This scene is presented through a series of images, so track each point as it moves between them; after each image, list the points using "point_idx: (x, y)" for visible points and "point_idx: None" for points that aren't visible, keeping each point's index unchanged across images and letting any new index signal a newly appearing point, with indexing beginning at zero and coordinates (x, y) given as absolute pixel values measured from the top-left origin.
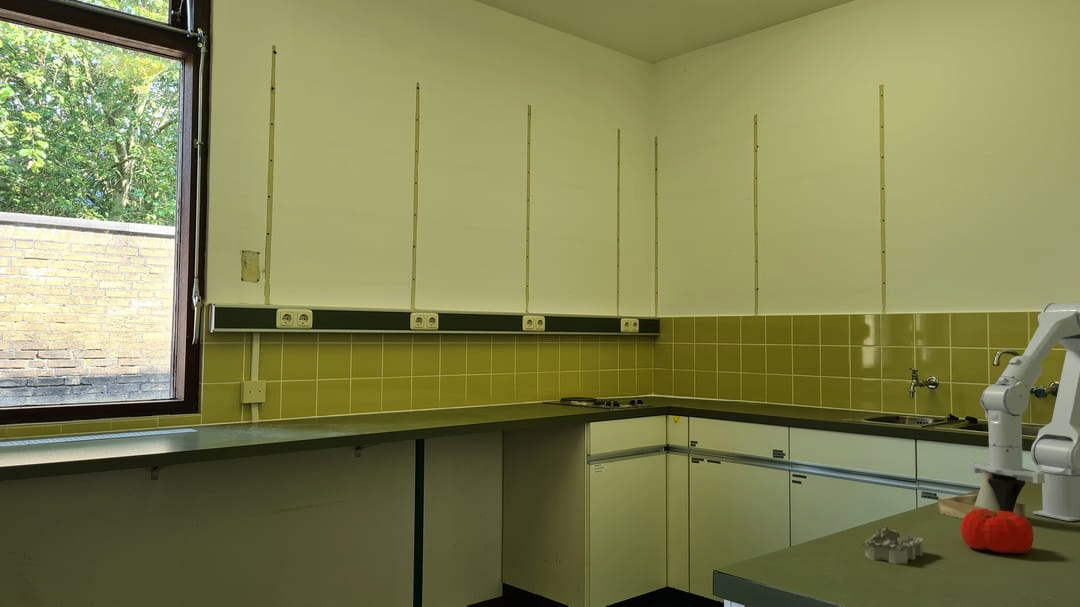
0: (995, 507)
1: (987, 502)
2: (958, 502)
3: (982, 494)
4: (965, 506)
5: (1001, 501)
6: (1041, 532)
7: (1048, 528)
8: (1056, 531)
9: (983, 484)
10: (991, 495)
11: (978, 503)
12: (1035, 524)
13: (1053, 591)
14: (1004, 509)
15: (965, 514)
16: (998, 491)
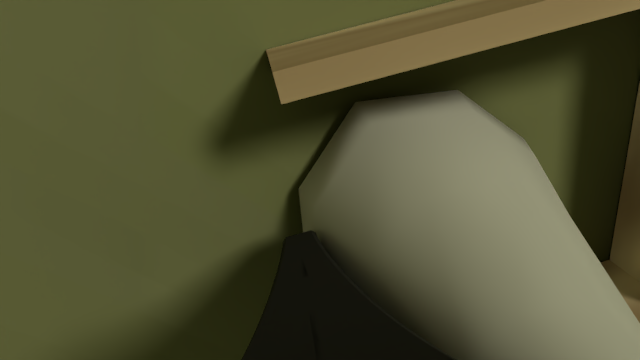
0: (353, 227)
1: (414, 206)
2: (608, 7)
3: (514, 237)
4: (498, 9)
5: (308, 288)
6: (3, 261)
7: (128, 345)
8: (47, 345)
9: (607, 343)
10: (435, 287)
11: (485, 162)
12: (232, 335)
13: None
14: (283, 255)
15: (461, 6)
16: (338, 353)
